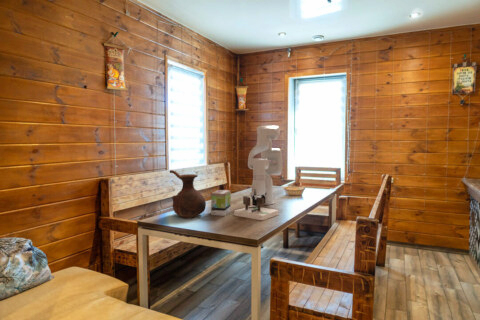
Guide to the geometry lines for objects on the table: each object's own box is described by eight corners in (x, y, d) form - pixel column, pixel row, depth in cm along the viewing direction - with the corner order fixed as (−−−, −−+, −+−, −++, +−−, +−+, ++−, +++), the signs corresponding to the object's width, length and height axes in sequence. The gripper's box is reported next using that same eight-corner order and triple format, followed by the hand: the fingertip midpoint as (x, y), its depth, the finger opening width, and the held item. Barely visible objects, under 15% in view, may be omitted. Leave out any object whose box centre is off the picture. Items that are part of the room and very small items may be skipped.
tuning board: (251, 210, 221) (251, 205, 221) (278, 214, 207) (278, 209, 207) (234, 215, 206) (234, 210, 206) (262, 220, 192) (262, 215, 192)
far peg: (247, 210, 205) (247, 197, 205) (243, 208, 212) (243, 196, 211) (259, 209, 209) (259, 197, 208) (255, 207, 215) (255, 195, 214)
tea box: (225, 216, 204) (225, 193, 203) (210, 215, 206) (210, 193, 205) (231, 211, 219) (230, 189, 218) (217, 210, 221) (216, 189, 220)
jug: (187, 210, 221) (186, 167, 219) (212, 214, 210) (211, 169, 208) (164, 217, 202) (164, 170, 200) (191, 221, 191) (190, 172, 189)
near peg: (255, 209, 208) (255, 197, 208) (264, 210, 204) (264, 198, 203) (247, 211, 201) (247, 199, 201) (256, 213, 197) (256, 200, 196)
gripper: (261, 176, 213) (261, 201, 214) (246, 178, 199) (246, 205, 200) (271, 177, 208) (271, 203, 209) (256, 179, 195) (255, 207, 196)
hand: (258, 204), depth 205 cm, fingers open, 9 cm apart
